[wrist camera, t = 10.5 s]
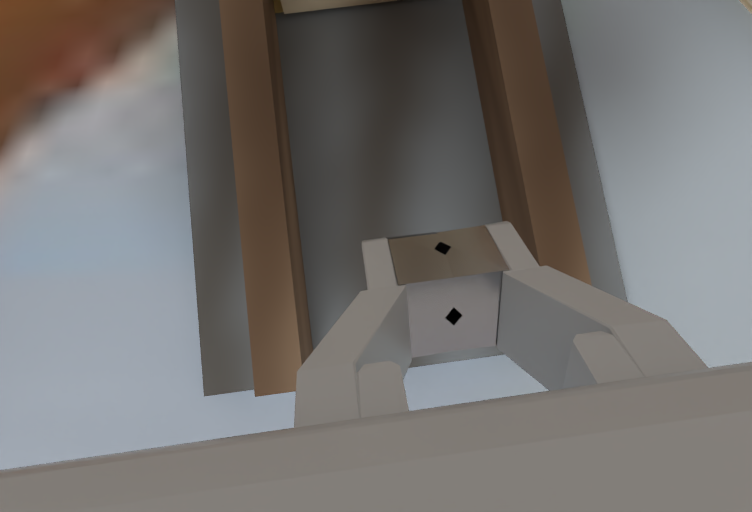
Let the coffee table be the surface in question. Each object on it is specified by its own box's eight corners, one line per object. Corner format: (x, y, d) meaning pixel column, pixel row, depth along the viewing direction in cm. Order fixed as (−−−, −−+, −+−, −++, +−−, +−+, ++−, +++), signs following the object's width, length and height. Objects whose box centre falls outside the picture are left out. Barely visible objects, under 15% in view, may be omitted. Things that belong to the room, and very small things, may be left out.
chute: (213, 393, 18) (168, 408, 14) (172, -135, 22) (129, -237, 18) (621, 336, 19) (687, 336, 15) (510, -173, 23) (539, -281, 19)
